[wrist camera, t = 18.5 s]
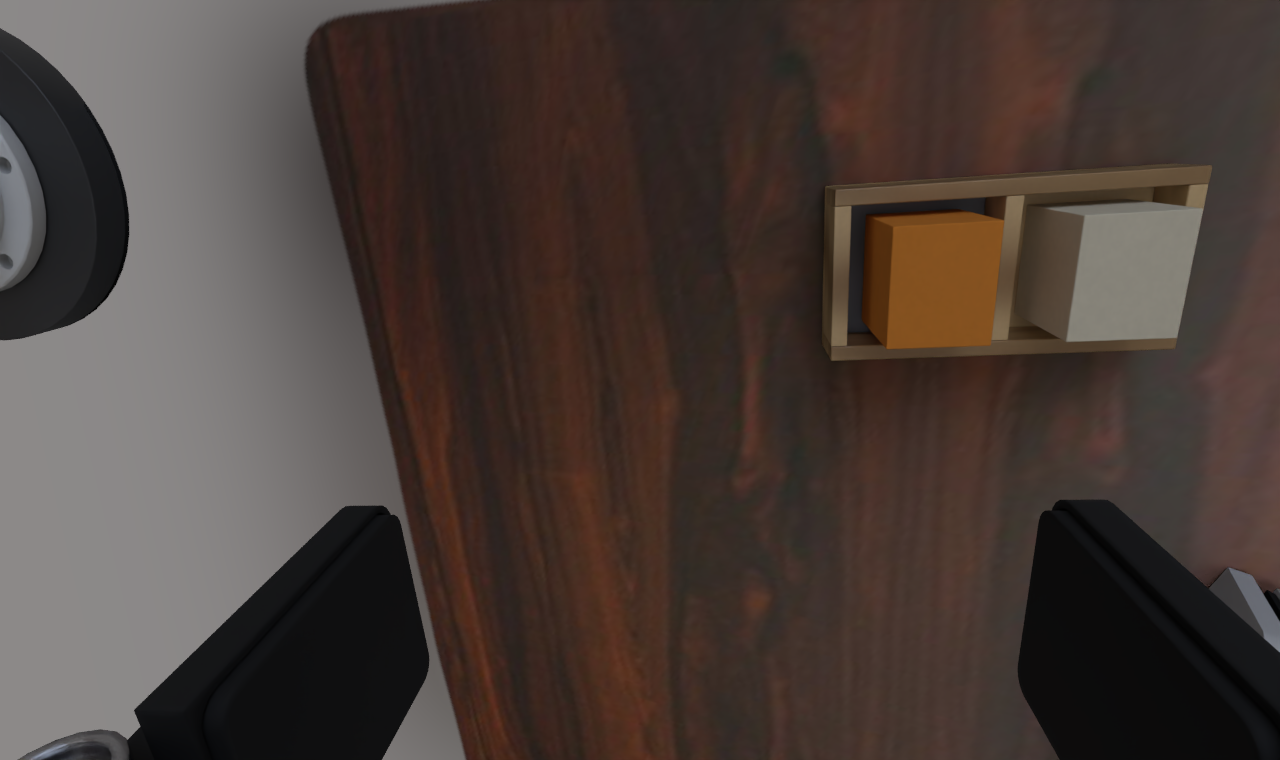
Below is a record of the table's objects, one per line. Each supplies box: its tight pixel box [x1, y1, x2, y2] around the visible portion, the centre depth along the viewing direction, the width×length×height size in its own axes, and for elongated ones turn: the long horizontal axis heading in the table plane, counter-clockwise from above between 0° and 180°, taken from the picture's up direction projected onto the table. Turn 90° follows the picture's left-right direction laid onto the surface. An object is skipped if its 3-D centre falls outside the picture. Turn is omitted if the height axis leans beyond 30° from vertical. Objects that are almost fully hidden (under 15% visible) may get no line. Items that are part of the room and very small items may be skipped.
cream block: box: [1015, 199, 1203, 342], centre depth 31 cm, size 6×5×6 cm
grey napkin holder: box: [1209, 568, 1280, 652], centre depth 38 cm, size 17×5×10 cm, turn 158°
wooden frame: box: [822, 164, 1212, 361], centre depth 33 cm, size 9×16×3 cm, turn 94°
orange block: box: [862, 209, 1004, 349], centre depth 32 cm, size 6×5×6 cm
